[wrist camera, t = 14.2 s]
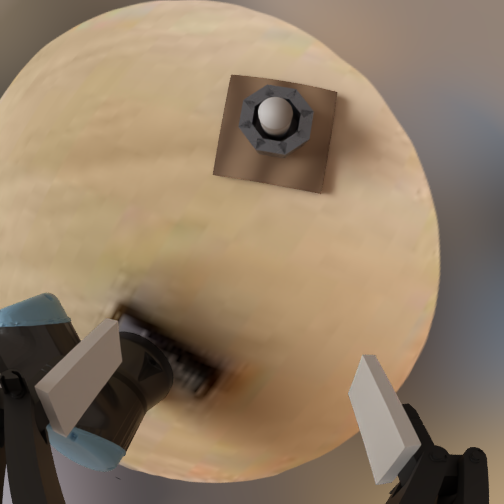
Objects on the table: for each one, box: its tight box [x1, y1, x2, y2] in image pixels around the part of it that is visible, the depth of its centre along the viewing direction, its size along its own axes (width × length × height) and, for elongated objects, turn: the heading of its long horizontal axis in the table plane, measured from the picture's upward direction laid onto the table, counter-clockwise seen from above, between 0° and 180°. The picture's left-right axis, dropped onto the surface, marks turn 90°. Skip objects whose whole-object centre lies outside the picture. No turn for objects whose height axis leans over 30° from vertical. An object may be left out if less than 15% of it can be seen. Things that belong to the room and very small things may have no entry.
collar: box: [238, 84, 314, 158], centre depth 30 cm, size 7×7×5 cm
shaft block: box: [213, 75, 337, 194], centre depth 30 cm, size 14×14×12 cm
